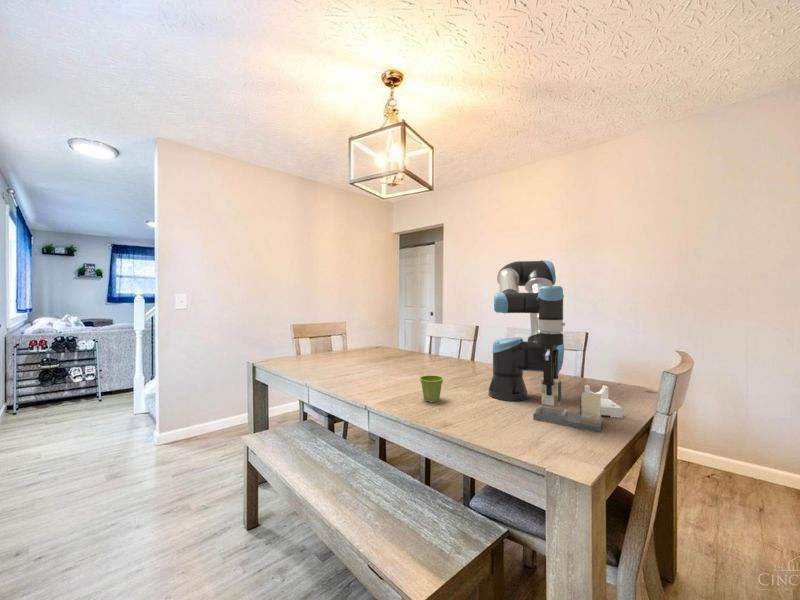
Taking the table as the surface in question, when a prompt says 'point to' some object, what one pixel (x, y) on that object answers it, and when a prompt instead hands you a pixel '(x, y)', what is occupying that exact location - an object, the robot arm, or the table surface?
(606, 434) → the table surface
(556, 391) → the wooden block
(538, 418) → the grey base stand
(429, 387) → the plant pot
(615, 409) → the bracket
